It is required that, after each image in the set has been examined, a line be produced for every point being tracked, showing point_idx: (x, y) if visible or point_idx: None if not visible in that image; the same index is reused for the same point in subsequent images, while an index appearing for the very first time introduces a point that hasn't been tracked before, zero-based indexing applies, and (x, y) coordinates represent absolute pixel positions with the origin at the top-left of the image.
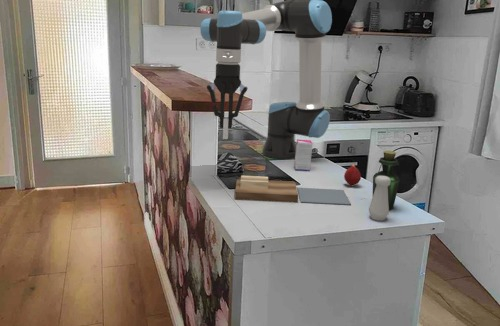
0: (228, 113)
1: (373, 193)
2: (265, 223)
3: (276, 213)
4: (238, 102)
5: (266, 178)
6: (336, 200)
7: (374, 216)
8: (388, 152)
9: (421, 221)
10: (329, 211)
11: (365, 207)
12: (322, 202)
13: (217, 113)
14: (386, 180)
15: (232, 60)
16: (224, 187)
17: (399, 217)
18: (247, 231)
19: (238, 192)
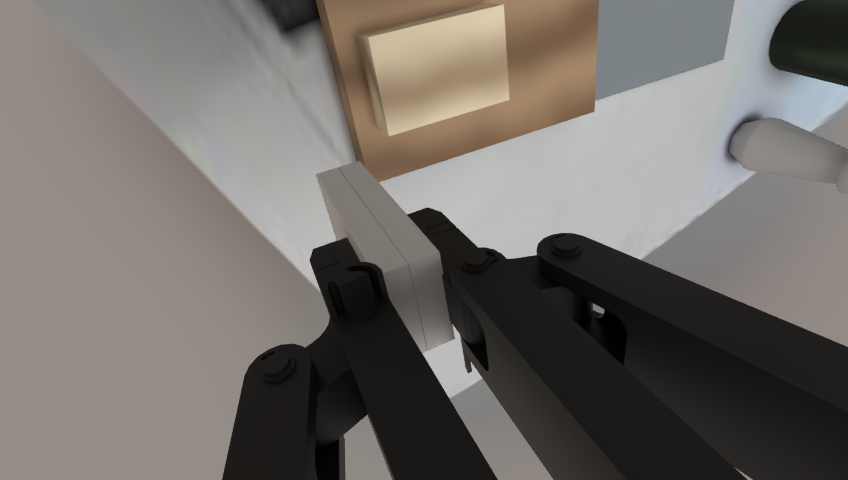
0: (487, 383)
1: (814, 54)
2: None
3: (511, 227)
4: (741, 455)
5: (498, 39)
6: (694, 39)
7: (739, 162)
8: None
9: (820, 113)
10: (649, 142)
11: (749, 60)
12: (649, 81)
13: (334, 445)
14: None
15: None
16: (254, 24)
17: (790, 107)
18: (451, 362)
19: (382, 179)
